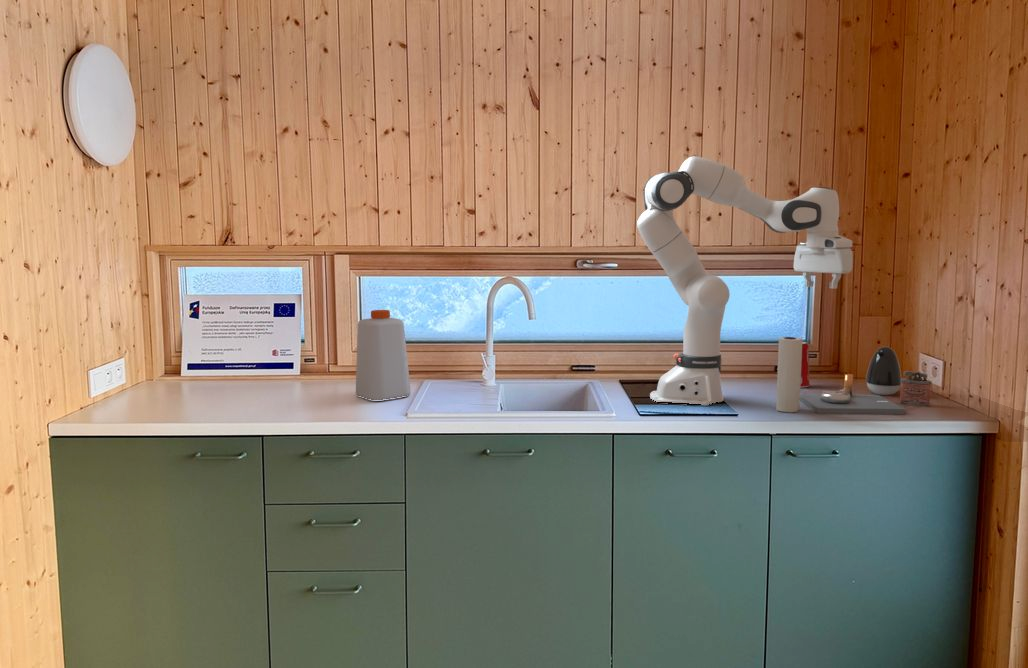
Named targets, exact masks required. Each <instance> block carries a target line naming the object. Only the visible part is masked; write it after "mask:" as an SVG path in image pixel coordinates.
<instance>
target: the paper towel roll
mask: <svg viewBox="0 0 1028 668" xmlns="http://www.w3.org/2000/svg"><path fill="white" fill-rule="evenodd" d="M803 338H804V337H803V336H802V337H793V336H783V337H779V338H778V350H777V351H778V353H777V354H778V355H777V356H778V357H777V378H776V402H775V405H776V407H775V410H776V411H779V412H783V413H797V412H798V411H799V410H800V404H801V401H800V394H801V388H800V383H801V360H802V342H803Z"/></svg>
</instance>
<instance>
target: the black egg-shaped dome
mask: <svg viewBox="0 0 1028 668" xmlns="http://www.w3.org/2000/svg"><path fill="white" fill-rule="evenodd" d="M902 378H903V377H902V371H901V366H900V362H899V359H898V356H897V353H896V352H895V350H894V349H893V348H891V347H889V346H881V347H879V348H877V349H876V350H875V352H874V353H873V355H872V356H871V359H870V361H869V363H868V367H867V371H866V375H865V382H866V385H867V388H868V390H869V391H870V392H871V393H873V394H874V395H879V396H891V395H894V394H896V393H897V392H898V391H899V390H900V388H901V379H902Z"/></svg>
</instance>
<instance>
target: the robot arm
mask: <svg viewBox="0 0 1028 668" xmlns="http://www.w3.org/2000/svg"><path fill="white" fill-rule="evenodd" d="M691 195H695V196H698V197H701V198H703V199H705V200H708V201H709V202H711V203H716V204H719V205H723V206H728V207H732V208H733V207H734V208H737V209H739V210H742V211H744V212H746V213H748V214H749V215H752V216H754V217H756V218H759V220H761V221H762V222H763V223H764V224H765V226H767V228H769V229H770V230H771V231H773V232H774V233H778V234H785V233H791V232H792V233H794V232H800V231H801V232H802V231H804V230H806V241H800V242H799V243H798V244H797V245H796V248H795V251H794V252H795V253H794V259H793V271H795V272H802V277H803V279H804V281H805V287H806V288H812V287H814V280H812V278H811V276H812V273H820V274H821V273H824V274H831V277H832V280H831V282H828V285H829V286H828V287H829V289H831V290H832V289H833V290H834V289H835V290H836V289H838V283H839V281H840V280H841V277H842V274H851V272H852V270H853V267H854V265H853V264H854V261H853V260H854V258H853V257H854V256H853V250H852V249H851V248H852V247H853V241H852V240H853V239H852V240H851V239H849V238H847V237H845V236H842V235H839V233H840V232H839V226H838V221H839V218H840V203H839V202H840V201H839V195H838V193H837V191H836V190H835V189H834V188H831V187H825V186H814V187H811V188H810V189H809V190H808V191H806V192H805V193H803V194H801V195H799V196H796V197H794V198H792V199H788V200H787V199H786V200H783V199H782V200H774V199H773V200H772V199H770V198H767V197H765V196H763V195H761V194H759V193H756V192H755V191H752V190H750V189H749V188H748V187H747V186H746V181H745V178H744V176H743V175H742V174H741V173H740V172H738V171H737V170H735V169H734V168H732V167H730V166H727V165H726V164H723V163H721V162H718V161H715V160H713V159H709V158H705V157H701V156H696V155H695V156H694V155H693V156H690V157H688V158H686V159H685V160H684V162H683V163H682V164H681V165H680V168H679V170H678V171H670V172H660V173H657V174H656V175H653V176H650V178H649V179H648V180H646V183H645V184H644V188H643V200H644V209H645V211H643V212H642V214H640V215H639V217H638V220H637V222H636V227H637V230H638V232H639V235H640V236H641V239H642V240H643V242H644V243H645V245H646V246H647V249H649V251H650V252H651V254H652V256H653V257H654V259H656V261H657V262H658V264H660V266H661V268H662V269H663V270H664V272H665V273H666V275H667V277H668V279H669V281H670V282H671V284H672V286H673V287H674V289H675V291H676V292H677V294H678V296H679V298H680V299H681V301H682V302H683V303H684V304H685V305H686V306H688V312H687V316H686V321H685V322H686V323H685V325H684V327H683V339H682V342H683V346H682V353H680V354H679V353H674V354H673V359H674V360H675V363H676V365H675V366H673V367H672V368H671V369H669V370H668V371H667V372H666V373H664V374H663V375H661V376H660V377H659V380H658V382H657V387H656V390H653V391H651V392H650V393H649V397H650V400H651V399H652V400H651V401H653V400H654V401H653V402H655V401H656V402H655V403H657V402H672V403H689V404H701V405H700V406H710V405H712V403H713V404H716V402H718V403H721V402H723V401H724V400H725V398H724V394H723V390H722V382H721V373H722V371H721V370H722V354H721V333H722V332H721V329H722V324H723V320H724V315H725V310H726V305H727V303H728V302H729V299H730V288H729V286H728V285H727V284H726V282H725V281H724V280H723V279H722V278H720V277H719V276H717V275H714V274H713V275H712V274H709V272H707V270H706V269H705V267H704V265H703V263H702V262H701V259H700V258H699V255H698V252H697V249H695V247H694V246H693V244H692V243H691V241H690V240H689V239H688V237H687V236H686V235H685V233H684V232H683V231H682V229H681V228H680V226H679V225H678V224H677V223H676V220H675V219H674V212H673V211H674V210H676V209H678V208H679V207H681V206H682V205H683V204H684V203H685V202H686V201H687V199H689V197H690V196H691ZM709 404H710V405H709Z"/></svg>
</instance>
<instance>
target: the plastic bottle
mask: <svg viewBox="0 0 1028 668" xmlns="http://www.w3.org/2000/svg"><path fill="white" fill-rule="evenodd" d="M356 334H357V335H356V338H357V339H356V367H355V368H356V373H355V375H356V376H355V396H357V395H358V396H361V397H364V398H367V399H371V400H383V399H390V398H397V397H402V396H407V395H409V396H410V395H411V392H412V391H411V382H410V375H409V374H410V373H409V372H410V371H409V363H408V361H409V360H408V351H407V344H406V333H405V323H404V321H403V320H402V319H399V318H395V317H391V312H390V310H389V309H373V310H371V311H370V317H369V318H363V319H360V320H359V321H358V323H357V333H356ZM358 396H357V397H358ZM407 397H408V396H407Z"/></svg>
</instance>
